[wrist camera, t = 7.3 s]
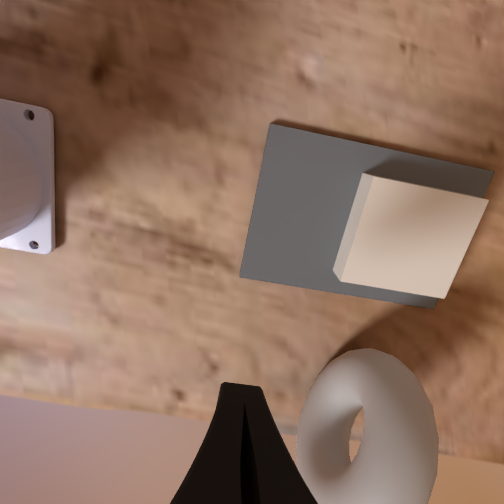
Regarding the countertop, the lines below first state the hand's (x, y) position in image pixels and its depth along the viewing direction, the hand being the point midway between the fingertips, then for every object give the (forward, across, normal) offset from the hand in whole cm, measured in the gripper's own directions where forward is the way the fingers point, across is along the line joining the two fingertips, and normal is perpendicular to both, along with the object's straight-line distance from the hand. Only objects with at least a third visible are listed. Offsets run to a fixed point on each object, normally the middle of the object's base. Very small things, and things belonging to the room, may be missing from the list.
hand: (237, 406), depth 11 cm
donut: (+10, -8, +6) cm, 14 cm away
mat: (+10, -6, -5) cm, 13 cm away
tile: (+9, -6, -5) cm, 11 cm away
